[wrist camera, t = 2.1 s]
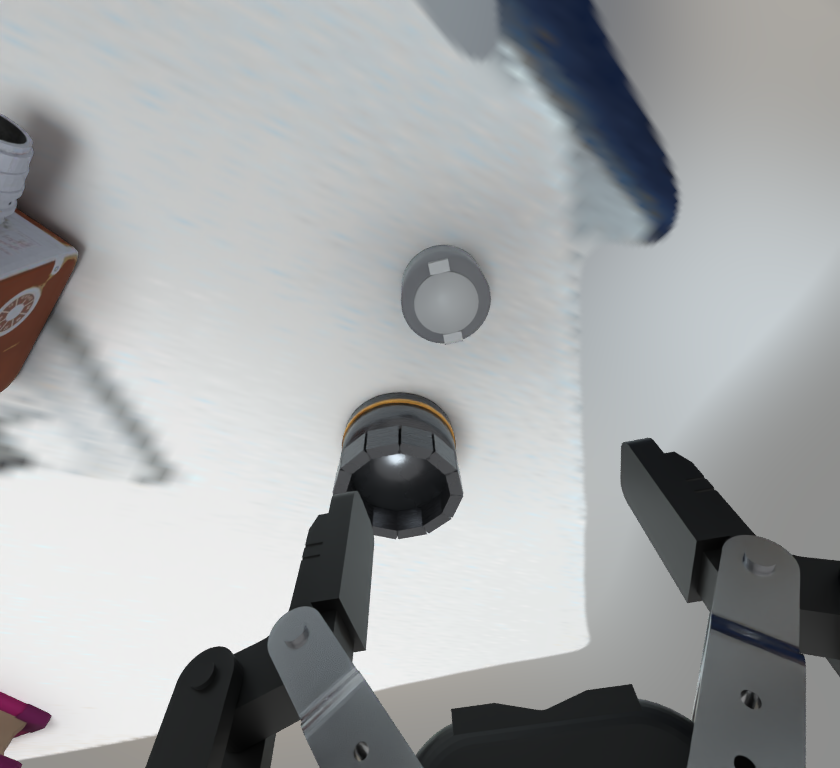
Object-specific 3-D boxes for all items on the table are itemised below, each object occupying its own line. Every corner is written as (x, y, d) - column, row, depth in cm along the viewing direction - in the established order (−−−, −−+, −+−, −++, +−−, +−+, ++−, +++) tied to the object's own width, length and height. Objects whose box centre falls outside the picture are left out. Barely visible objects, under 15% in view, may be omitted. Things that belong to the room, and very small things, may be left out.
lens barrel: (329, 404, 35) (314, 458, 29) (442, 381, 34) (450, 431, 28) (361, 487, 39) (354, 547, 34) (462, 469, 38) (472, 527, 33)
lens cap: (392, 255, 29) (391, 270, 26) (476, 236, 28) (484, 249, 25) (411, 331, 32) (412, 353, 29) (487, 314, 31) (496, 335, 28)
